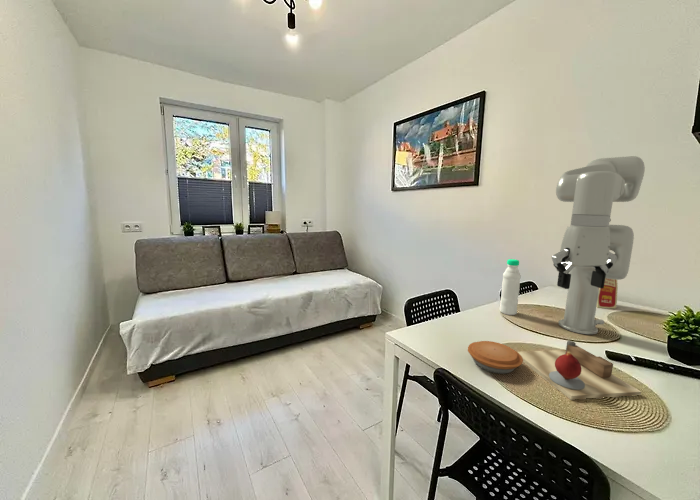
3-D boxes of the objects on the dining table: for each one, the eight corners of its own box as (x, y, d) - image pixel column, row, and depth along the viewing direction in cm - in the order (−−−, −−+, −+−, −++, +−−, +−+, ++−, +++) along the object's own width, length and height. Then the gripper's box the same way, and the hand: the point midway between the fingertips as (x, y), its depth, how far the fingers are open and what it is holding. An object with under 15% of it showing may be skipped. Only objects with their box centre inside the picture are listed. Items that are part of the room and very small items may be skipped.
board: (569, 352, 97) (570, 349, 97) (640, 395, 76) (641, 391, 75) (514, 355, 95) (514, 351, 95) (570, 400, 74) (571, 395, 74)
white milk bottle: (516, 316, 128) (522, 262, 124) (498, 313, 132) (503, 260, 128) (516, 311, 134) (522, 259, 130) (500, 308, 138) (505, 257, 133)
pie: (457, 360, 92) (458, 346, 91) (482, 346, 101) (483, 333, 100) (506, 385, 80) (508, 368, 79) (530, 366, 89) (532, 352, 88)
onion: (571, 374, 82) (574, 348, 81) (584, 386, 77) (588, 358, 76) (549, 372, 83) (552, 346, 82) (561, 384, 77) (564, 356, 76)
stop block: (598, 368, 86) (599, 356, 86) (611, 376, 82) (613, 363, 82) (593, 368, 86) (595, 356, 85) (606, 376, 82) (608, 364, 81)
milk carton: (597, 307, 140) (603, 267, 137) (585, 301, 149) (591, 263, 146) (618, 309, 139) (625, 268, 135) (605, 302, 148) (611, 264, 144)
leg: (563, 353, 94) (565, 340, 93) (569, 353, 94) (571, 340, 93) (602, 377, 81) (604, 363, 80) (610, 377, 81) (612, 362, 80)
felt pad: (567, 371, 84) (567, 370, 84) (592, 389, 76) (592, 387, 76) (542, 373, 83) (542, 371, 83) (565, 390, 75) (565, 389, 75)
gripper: (606, 221, 77) (596, 282, 80) (546, 220, 75) (538, 283, 78) (636, 223, 70) (624, 290, 73) (570, 223, 68) (561, 292, 71)
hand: (580, 287), depth 75 cm, fingers open, 9 cm apart
